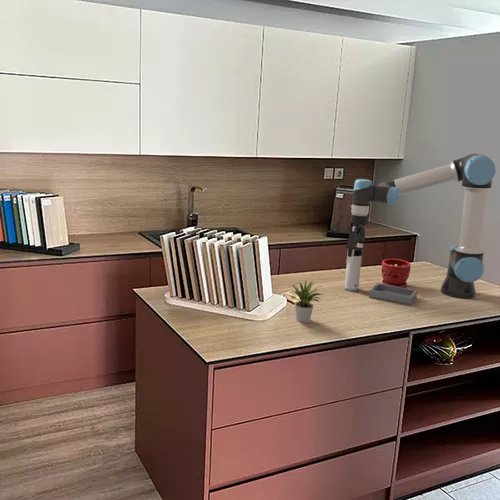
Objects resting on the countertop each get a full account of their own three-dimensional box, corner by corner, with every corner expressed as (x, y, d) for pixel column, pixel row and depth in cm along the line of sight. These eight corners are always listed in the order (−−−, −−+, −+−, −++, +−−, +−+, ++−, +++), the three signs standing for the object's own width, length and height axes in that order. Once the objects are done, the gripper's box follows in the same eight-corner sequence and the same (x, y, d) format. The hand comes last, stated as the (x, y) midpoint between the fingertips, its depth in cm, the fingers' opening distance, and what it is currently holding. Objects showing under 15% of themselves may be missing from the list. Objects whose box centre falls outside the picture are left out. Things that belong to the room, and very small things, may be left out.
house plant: (292, 329, 207) (296, 287, 203) (276, 316, 219) (279, 276, 215) (326, 325, 213) (330, 284, 209) (308, 312, 225) (311, 273, 221)
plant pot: (379, 280, 275) (382, 257, 272) (406, 284, 272) (410, 260, 270) (379, 288, 263) (382, 263, 260) (408, 291, 260) (411, 267, 257)
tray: (416, 297, 252) (417, 290, 251) (409, 305, 241) (410, 298, 240) (376, 290, 260) (377, 283, 259) (368, 297, 248) (369, 290, 248)
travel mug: (358, 292, 255) (363, 249, 250) (344, 290, 256) (348, 248, 251) (359, 288, 261) (363, 246, 256) (344, 286, 262) (348, 245, 257)
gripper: (359, 209, 262) (354, 253, 268) (342, 216, 241) (337, 264, 246) (375, 211, 259) (369, 256, 264) (359, 219, 238) (353, 267, 243)
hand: (354, 260), depth 255 cm, fingers open, 13 cm apart
